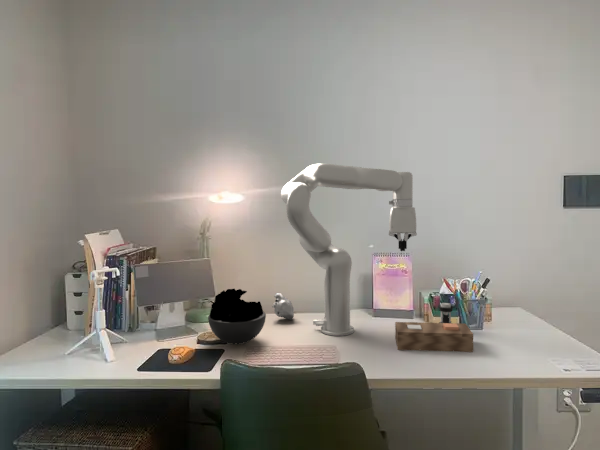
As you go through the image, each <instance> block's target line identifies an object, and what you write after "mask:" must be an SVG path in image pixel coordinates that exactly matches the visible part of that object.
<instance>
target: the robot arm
mask: <svg viewBox="0 0 600 450" xmlns="http://www.w3.org/2000/svg"><path fill="white" fill-rule="evenodd" d="M413 183H414V182H413V174H412V172H410V171H396V170H394V169H393V170H392V169H382V168H373V167H362V166H353V165H352V166H351V165H342V164H332V163H325V162H323V163H322V162H321V163H314V164H311V165H309V166H306V168H305V169H303V170H302V171H300V172H299V173H298V174H297V175H296V176H295V177H293V178H292V179H290V181H288V182H287V183H286V184H284V186H283V187H282V189H281V192H280V198H281V199H282V202H283V203H285V204H286V217H287V219H288V222H289V224H290V226H292V228H293V230H294V231H295V232H296V233H297V234H298V241H299V244H300V245H301V247H302V248H303V249H304V250H305V251H306V253H307V254H308V255H309V257H310V258H312V260H313V261H314V262H315V263H316V264H317V265H318V266H319V267H321V268H322V269H323V270H325V274H324V275H325V276H324V280H323V281H324V283H323V284H324V286H323V289H324V290H323V291H324V318H322V319H313V320H312V323H313V324H312V325H314V326H315V327H319V326H320V332H321V333H322V334H324V335H328V336H338V337H340V336H348V335H352V334H353V333H354V332H355V327H354V326H352V325H351V290H350V289H351V287H350V285H351V283H350V282H351V271H352V267H353V266H352V265H353V262H352V257H351V255H350V253H349V252H348V251H347V250H345V249H344V248H341V247H338V246H334V245H333V244H332V237H331V234H330V233H329V231H327V229H325V228H324V226H323V225H322V224H321V223H320V222H319V221H318V220H317V218H316V217H315V216H314V214H313V213H312V212H311V209H310V202H311V201H310V200H311V196H312V192H313V191H314V190H315V189H316V188H317V187H323V188H324V187H325V188H332V189H334V188H335V189H343V190H344V189H345V190H376V191H378V192H392V200H388V205H391V206H392V207H390V210H389V211H390V212H389V218H388V219H389V223H388V229H389V231H388V236H389V237H394V238H396V240H397V241H398V249H399V251H400V252H406V250H407V248H408V247H407V241H408V240H409V239H410V238H411V237H415V236H417V235H418V234H417V216H416V214H417V213H416V207H413V202H414V201H413V192H414V191H413V189H414V188H413ZM401 234H404V235H403V239H402V236H401Z"/></svg>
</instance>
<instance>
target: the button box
mask: <svg viewBox="0 0 600 450" xmlns="http://www.w3.org/2000/svg"><path fill="white" fill-rule="evenodd" d="M456 324H457V325H458V327H459V330H444V329H443V323H439V322H413V321H411V322H410V321H408V322H407V321H396V322H394V325H395V326H394V327H395V330H394V331H395V332H394V334H395V335H394V337H395V338H394V339H395V343H396V349H397V350H398V351H420V352H421V351H426V352H431V351H432V352H454V353H455V352H456V353H457V352H459V353H474V333H473V331H472V330H471V328H470V327H469V326H468V325H467V324H466V323H459V322H458V323H457V322H456ZM407 325H420V326H421V328H422V330H419V329H407Z"/></svg>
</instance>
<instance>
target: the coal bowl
mask: <svg viewBox="0 0 600 450" xmlns="http://www.w3.org/2000/svg"><path fill="white" fill-rule="evenodd" d="M247 292H248V291H247V290H242V289H241V288H238V289H235V288H228V289H226V290H222V291H221V292H220V293H217V294H216V295H215V296H214V302H213V303H211V304H210V305H211V307H210V312H209V315H208V317H207V321H208V325H209V326H210V330H211V331H212V333H213V334H214V336H215V337H217V338H218V339H219V340H221V341H222V342H224V343H226V344H230V345H242V344H243V345H244V344H246V343H249V342H250V341H252V340H254V339H255V338H256V337H257V336H258V335H259V334H260V333H261V332H262V330H263V328H264V325H265V322H266V317H267V314H266V312H265V311H264V310H263V309H264V308H263V305H262V303H261V301H245V300H244V299H241V298H242V295H245V294H246V293H247Z"/></svg>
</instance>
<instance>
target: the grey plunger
mask: <svg viewBox="0 0 600 450" xmlns="http://www.w3.org/2000/svg"><path fill="white" fill-rule="evenodd" d="M407 329H419V330H422V328H421V326H420V325H407Z"/></svg>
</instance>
